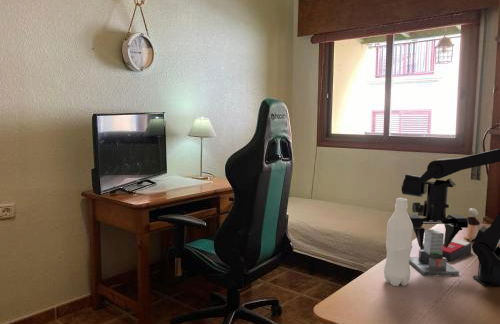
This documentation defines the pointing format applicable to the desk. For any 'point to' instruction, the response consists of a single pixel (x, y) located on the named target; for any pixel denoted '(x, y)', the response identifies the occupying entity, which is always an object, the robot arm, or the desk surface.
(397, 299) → the desk surface
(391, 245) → the water bottle
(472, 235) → the grandmother figurine
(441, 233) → the column
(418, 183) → the robot arm
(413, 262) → the stand base
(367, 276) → the desk surface
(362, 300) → the desk surface
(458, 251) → the button control pad
